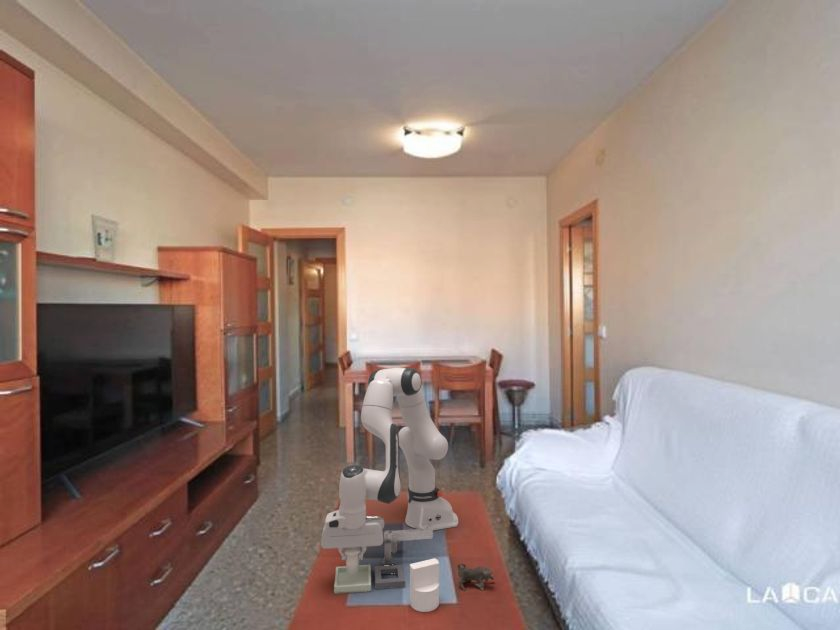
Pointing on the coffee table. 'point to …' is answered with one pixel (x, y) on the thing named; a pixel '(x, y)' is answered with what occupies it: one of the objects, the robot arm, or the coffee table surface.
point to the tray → (352, 580)
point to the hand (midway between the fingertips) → (352, 559)
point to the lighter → (394, 546)
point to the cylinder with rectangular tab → (424, 585)
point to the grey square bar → (408, 534)
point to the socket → (389, 572)
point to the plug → (352, 559)
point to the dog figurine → (473, 575)
